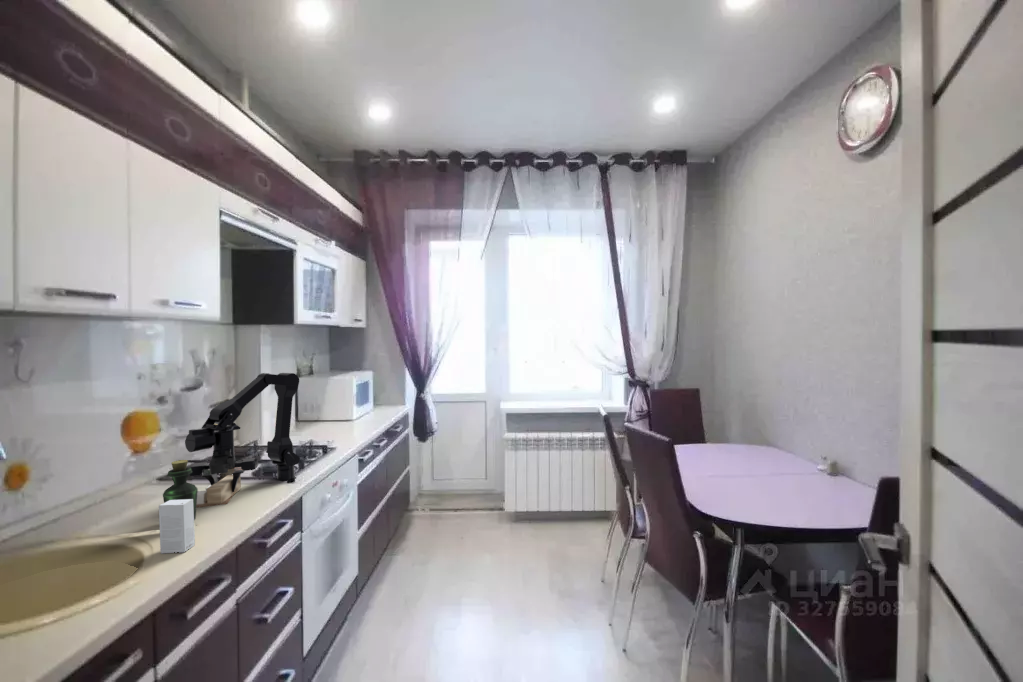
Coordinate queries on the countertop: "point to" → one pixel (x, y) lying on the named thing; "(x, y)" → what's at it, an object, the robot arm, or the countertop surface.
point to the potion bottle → (181, 484)
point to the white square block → (201, 497)
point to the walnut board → (214, 504)
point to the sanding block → (222, 490)
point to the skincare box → (176, 526)
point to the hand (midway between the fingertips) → (224, 492)
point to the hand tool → (230, 472)
